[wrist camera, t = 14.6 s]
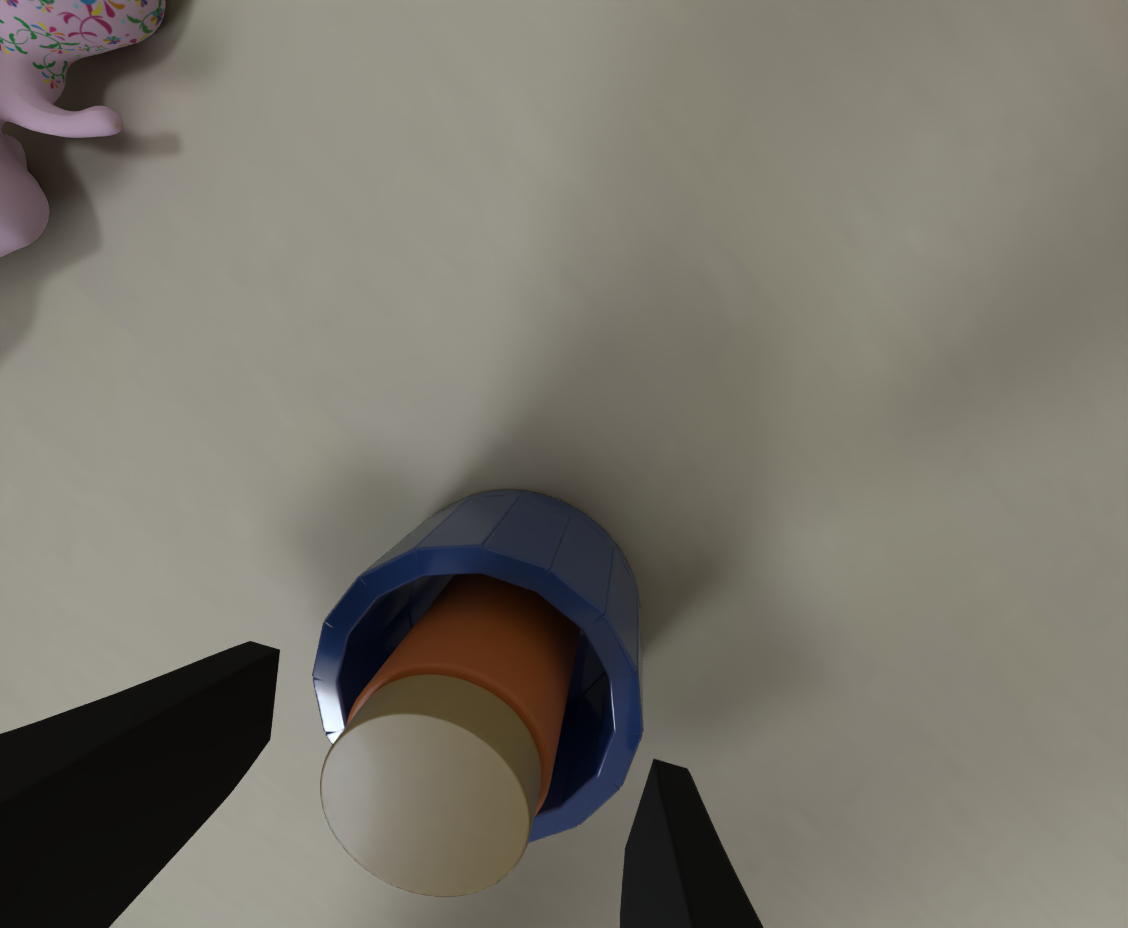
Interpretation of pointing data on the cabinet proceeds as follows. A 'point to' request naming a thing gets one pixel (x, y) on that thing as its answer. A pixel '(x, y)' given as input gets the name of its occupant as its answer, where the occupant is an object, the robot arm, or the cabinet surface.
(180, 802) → the robot arm
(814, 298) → the cabinet surface
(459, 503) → the cup
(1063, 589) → the cabinet surface
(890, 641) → the cabinet surface
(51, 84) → the pink toy
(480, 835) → the cream-capped orange cylinder
